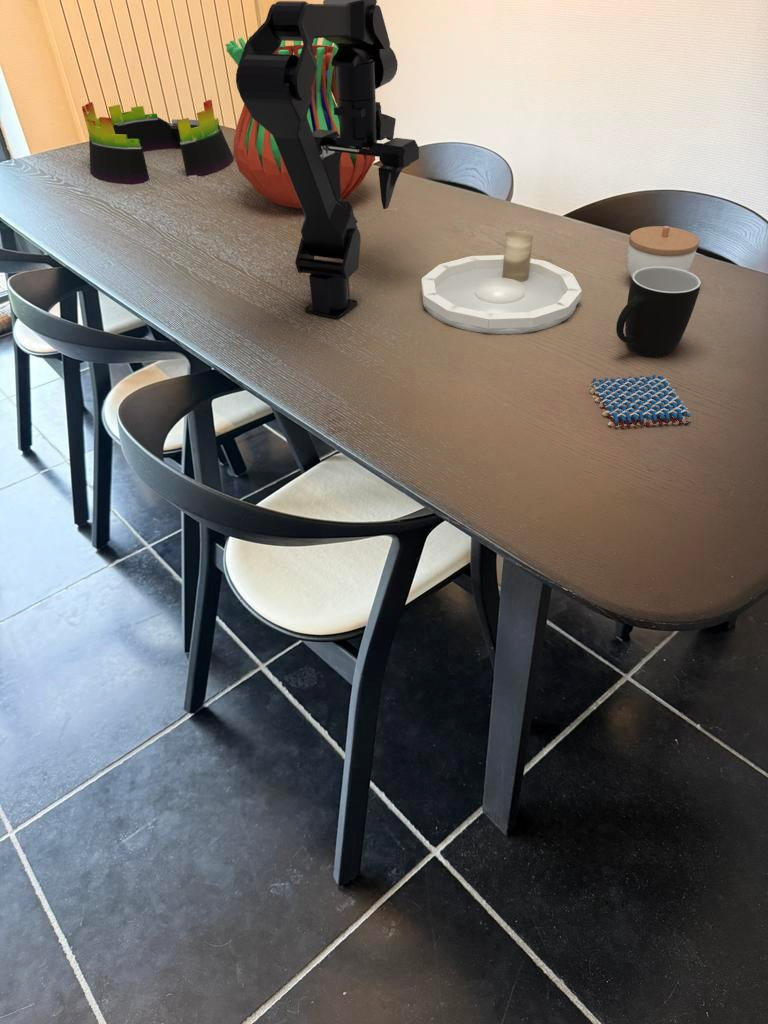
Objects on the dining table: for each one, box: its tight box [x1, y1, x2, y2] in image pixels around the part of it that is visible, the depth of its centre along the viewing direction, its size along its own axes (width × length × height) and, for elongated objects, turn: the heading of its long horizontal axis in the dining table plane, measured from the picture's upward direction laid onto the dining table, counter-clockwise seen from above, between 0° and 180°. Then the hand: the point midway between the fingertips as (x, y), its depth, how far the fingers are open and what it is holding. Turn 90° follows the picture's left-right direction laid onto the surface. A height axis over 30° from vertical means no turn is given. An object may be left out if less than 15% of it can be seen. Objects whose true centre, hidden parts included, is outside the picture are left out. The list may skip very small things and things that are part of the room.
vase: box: [225, 35, 376, 209], centre depth 149 cm, size 30×30×30 cm
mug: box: [615, 266, 702, 358], centre depth 98 cm, size 12×9×10 cm
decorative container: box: [81, 99, 235, 186], centre depth 180 cm, size 37×37×15 cm
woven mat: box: [587, 374, 691, 429], centre depth 90 cm, size 10×11×2 cm
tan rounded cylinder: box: [502, 230, 534, 282], centre depth 118 cm, size 4×4×7 cm
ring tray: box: [420, 254, 583, 335], centre depth 115 cm, size 25×25×2 cm
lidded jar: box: [626, 225, 700, 278], centre depth 116 cm, size 11×11×9 cm
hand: (361, 204), depth 117 cm, fingers open, 9 cm apart
